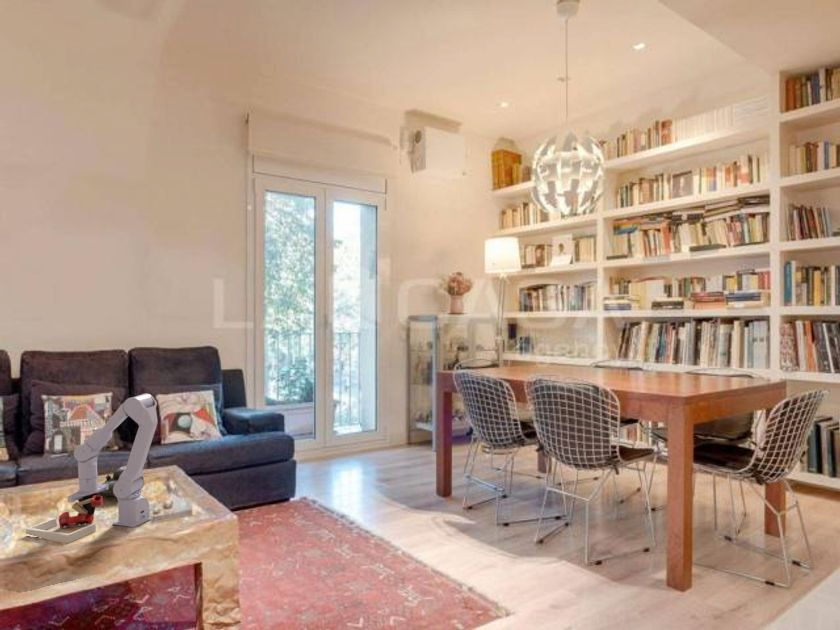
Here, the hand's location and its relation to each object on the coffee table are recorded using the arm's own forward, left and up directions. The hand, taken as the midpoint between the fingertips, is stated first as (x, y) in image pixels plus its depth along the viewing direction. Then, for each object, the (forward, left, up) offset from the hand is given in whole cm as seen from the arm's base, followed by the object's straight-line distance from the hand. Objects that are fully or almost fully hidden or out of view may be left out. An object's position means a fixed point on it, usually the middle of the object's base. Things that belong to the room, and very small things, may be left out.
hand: (89, 516), depth 203 cm
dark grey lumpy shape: (+13, -24, -2) cm, 27 cm away
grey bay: (0, +11, -2) cm, 11 cm away
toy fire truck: (0, +3, -2) cm, 3 cm away
